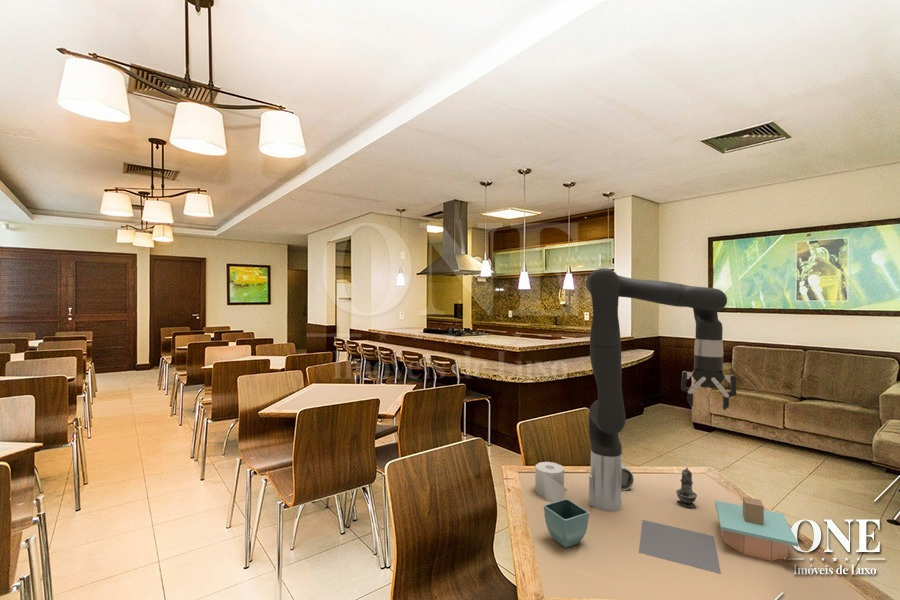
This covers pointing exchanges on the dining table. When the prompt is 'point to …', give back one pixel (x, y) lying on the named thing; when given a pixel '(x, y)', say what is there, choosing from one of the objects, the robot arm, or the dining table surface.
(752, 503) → the lid
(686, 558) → the mat
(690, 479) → the dark grey chess piece
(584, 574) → the dining table surface
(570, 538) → the flower pot
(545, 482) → the toilet tissue
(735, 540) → the bowl
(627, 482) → the ceramic mug
